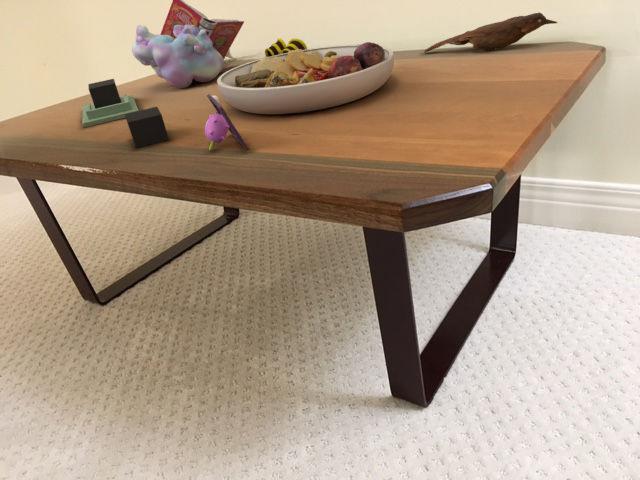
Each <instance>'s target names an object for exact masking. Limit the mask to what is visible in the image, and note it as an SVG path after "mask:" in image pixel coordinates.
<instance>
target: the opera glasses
mask: <svg viewBox="0 0 640 480" xmlns="http://www.w3.org/2000/svg"><path fill="white" fill-rule="evenodd" d="M296 49H301V50H307V49H308V47H307V45H306V43H305V42H304V40H302V39H300V38H292V39H290V40H289V41H288V42H287V44H286V42H285V41H284V39H282V38H277V39H276V42H274V43H272V44H271V45H270V46H269V47H267V48H265V50H264V55H265V57H271V56H275V55H279V54H284V53H288V52H289V51H292V50H296Z"/></svg>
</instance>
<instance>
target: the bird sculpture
mask: <svg viewBox="0 0 640 480" xmlns="http://www.w3.org/2000/svg"><path fill="white" fill-rule="evenodd" d="M551 24H552V25H553V24H558V21H557V20H556V21H555V20H551V19H547V17H546V16H545V15H544V14H543V13H542V12H534V13H531V14H527V15H518V16H513V17H510V18H507V19H504V20H502V21H498V22H492V23H489V24H485V25H482V26H481V25H480V26H478V27H476V28H475V29H472V30H467V31H465V32H464V33H461V34H457V35H455V36H453V37H449V38H447V39H444V40H441V41H438V42H436V43H434V44H433V45H430V46H429V47H427V48H426V49H424V51H423V53H425V54H426V53H427V52H430V51H433V50H435V49H438V48H440V47H443V46H445V45H447V44H449V45H454V46H464V45H467V44H471V45H472V48H473V49H475V50H478V51H479V50H483V51H493V50H501V49H502V50H503V49H505V48H507V47H509V46H511V45H513V44H516V43H518V42H519V41H520V40H521V39H523V38H524V37H525V36H526V35H529V34H531V33H532V32H534V31H536V30H539V28H541V27H543V26H545V25H551Z"/></svg>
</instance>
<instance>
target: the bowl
mask: <svg viewBox="0 0 640 480" xmlns="http://www.w3.org/2000/svg"><path fill="white" fill-rule="evenodd" d="M394 64H395V57H394V52H393V50H392V49H390V48H388V47H386V46H381V45H380V44H378V43H375V42H371V41H365V42H364V43H361V44H345V45H332V46H322V47H314V48H307V50H301V49H296V50H292V51H289V52H288V53H284V54H279V55H275V56H271V57H266V56H263V57H262V58H260V59H259V58H258V59H256V60H252V61H249V62H246V63H244V64H241V65H238V66H235V67H233V68H231V69H229V70H226V71H225V72H224V73H222V74H221V75H220V76H219V77H218V78H217V80H216V83H217V84H216V85H217V87H218V91H219V93H220V96H222V98H223V99H224V100H225V102H226V103H227V104H229V105H230V106H231V107H233V108H235V109H237V110H239V111H243V112H246V113H251V114H258V115H291V114H300V113H308V112H314V111H319V110H324V109H330V108H333V107H337V106H341V105H345V104H348V103H350V102H351V103H352V102H354V101H356V100H359V99H362V98H364V97H366V96H368V95H370V94H372V93H374V92H376V91H377V90H378V89H380V88H381V87H382V86H384V84H385V83H386V82H387V81H388V80H389V78H390V77H391V75H392V72H393V70H394Z"/></svg>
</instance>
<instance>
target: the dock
mask: <svg viewBox="0 0 640 480" xmlns="http://www.w3.org/2000/svg"><path fill="white" fill-rule="evenodd" d="M87 85H88V91H89V94H90V98H91V100H92V103H91V102H87V103H85V105H82V127H83V128H87V127H91V126H97V125H100V124H104V123H110V122H114V121H117V120H121V119H122V120H123V119H126V117H125V114H127V113H132V112H136V111H140V110H139V108H138V105H137V103H136V100H135V98H134V96H133V95H132V94H130V95H127V94H123V95H122V97H120V94H119V90H118V87H117V84H116V81H115V78H109V79H105V80H101V81H97V82H92V83H88V84H87Z"/></svg>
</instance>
